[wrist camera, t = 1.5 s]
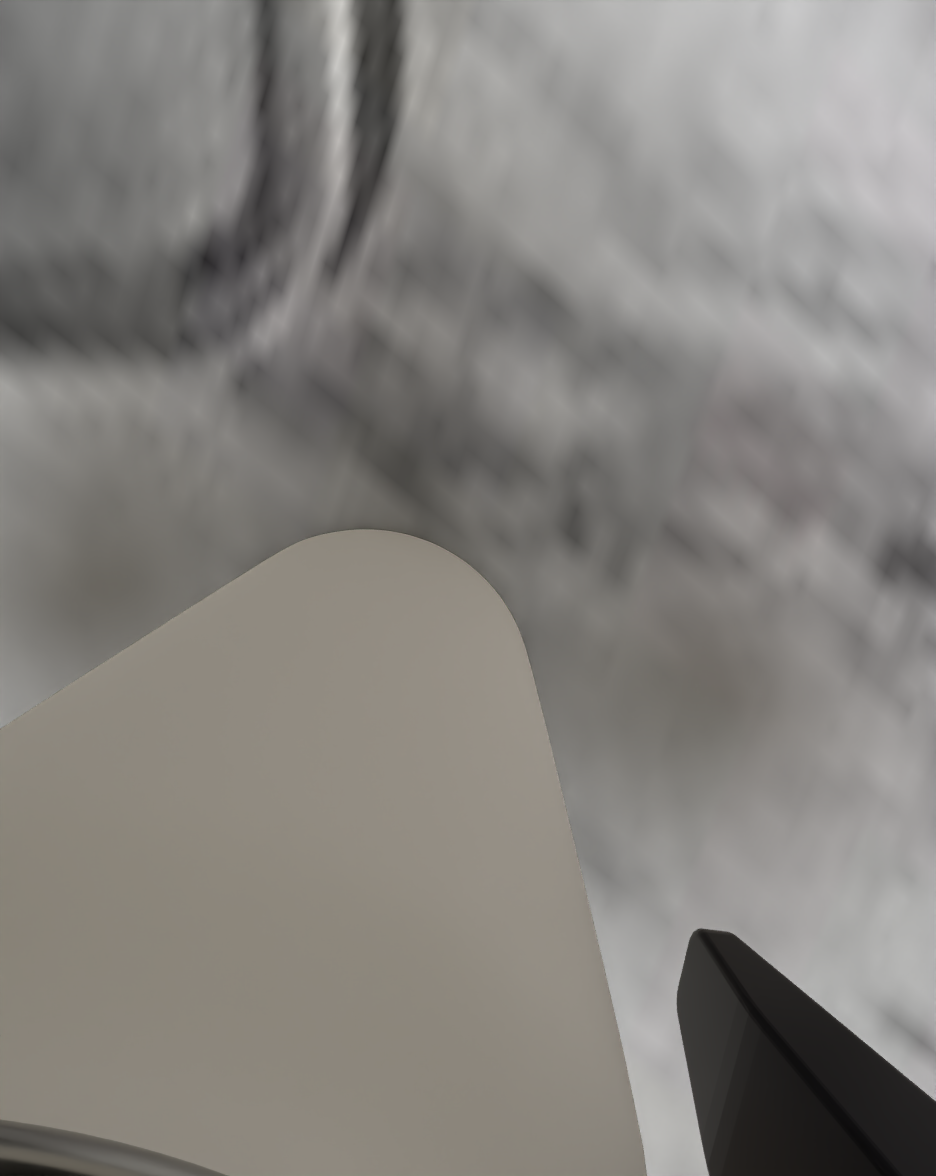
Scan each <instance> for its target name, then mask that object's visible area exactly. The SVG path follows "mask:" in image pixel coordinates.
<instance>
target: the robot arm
mask: <svg viewBox="0 0 936 1176" xmlns="http://www.w3.org/2000/svg"><path fill="white" fill-rule="evenodd" d="M677 1013H678V1019H679V1024H680V1030H681V1035H682V1040H683V1045H684V1051H685V1056H686V1061H687V1066H688V1072H689V1077H690V1082H691V1088H692V1093H693V1098H694V1103H695V1109H696V1114H697V1119H698V1125H699V1130H700V1135H701V1140H702V1145H703V1150H704V1155H705V1159H706V1164H707V1168H708V1172H709V1176H936V1101H935V1100H933V1099H932V1098H931V1097H930V1096H929V1095H927V1094H926V1093H925V1092H924V1091H923V1090H921V1089H920V1088H919V1087H918V1086H916V1085H915V1084H914V1083H913V1082H912V1081H910V1080H909V1079H908V1078H907V1077H906V1076H904V1075H903V1074H902V1073H901V1072H900V1071H898V1070H897V1069H896V1068H895V1067H894V1066H892V1065H891V1064H890V1063H889V1062H888V1061H886V1060H885V1059H884V1058H883V1057H882V1056H880V1055H879V1054H878V1053H877V1052H875V1051H874V1050H873V1049H872V1048H871V1047H869V1046H868V1045H867V1044H866V1043H865V1042H863V1041H862V1040H861V1039H860V1038H859V1037H857V1036H856V1035H855V1034H854V1033H853V1032H851V1031H850V1030H849V1029H848V1028H847V1027H845V1026H844V1025H843V1024H842V1023H840V1022H839V1021H838V1020H837V1019H836V1018H834V1017H833V1016H832V1015H831V1014H830V1013H828V1012H827V1011H826V1010H825V1009H824V1008H822V1007H821V1006H820V1005H819V1004H818V1003H816V1002H815V1001H814V1000H813V999H812V998H810V997H809V996H808V995H807V994H806V993H804V992H803V991H802V990H801V989H799V988H798V987H797V986H796V985H795V984H793V983H792V982H791V981H790V980H789V979H787V978H786V977H785V976H784V975H783V974H781V973H780V972H779V971H778V970H777V969H775V968H774V967H773V966H772V965H771V964H769V963H768V962H767V961H766V960H765V959H763V958H762V957H761V956H760V955H758V954H757V953H756V952H755V951H754V950H752V949H751V948H750V947H749V946H748V945H746V944H745V943H744V942H743V941H742V940H740V939H739V938H738V937H737V936H735V935H734V934H732V933H730V932H725V931H717V930H709V929H697V930H696V931H694V932H693V934H692V935H691V937H690V940H689V944H688V948H687V952H686V956H685V961H684V965H683V969H682V973H681V977H680V982H679V986H678V991H677Z"/></svg>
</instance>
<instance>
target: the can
mask: <svg viewBox="0 0 936 1176" xmlns="http://www.w3.org/2000/svg"><path fill="white" fill-rule="evenodd" d="M0 1176H647V1173H646V1165H645V1158H644V1151H643V1145H642V1140H641V1135H640V1130H639V1125H638V1120H637V1115H636V1110H635V1105H634V1100H633V1095H632V1091H631V1086H630V1081H629V1076H628V1071H627V1066H626V1061H625V1056H624V1052H623V1047H622V1043H621V1039H620V1034H619V1030H618V1026H617V1021H616V1017H615V1013H614V1008H613V1004H612V1000H611V995H610V991H609V987H608V982H607V978H606V974H605V969H604V965H603V961H602V956H601V952H600V948H599V944H598V940H597V935H596V931H595V927H594V923H593V919H592V914H591V910H590V906H589V902H588V898H587V893H586V889H585V885H584V881H583V877H582V872H581V868H580V864H579V860H578V856H577V852H576V847H575V843H574V839H573V835H572V831H571V827H570V823H569V819H568V814H567V810H566V806H565V802H564V798H563V794H562V790H561V786H560V781H559V777H558V773H557V769H556V765H555V761H554V757H553V753H552V749H551V745H550V741H549V737H548V733H547V729H546V725H545V720H544V716H543V712H542V708H541V704H540V701H539V697H538V693H537V689H536V685H535V681H534V677H533V673H532V669H531V666H530V662H529V658H528V655H527V651H526V648H525V645H524V642H523V639H522V636H521V634H520V631H519V629H518V627H517V624H516V622H515V620H514V618H513V616H512V615H511V613H510V611H509V609H508V608H507V606H506V605H505V603H504V601H503V600H502V599H501V597H500V596H499V595H498V593H497V592H496V591H495V589H494V588H493V587H492V586H491V585H490V584H489V583H488V582H487V581H486V579H485V578H484V577H483V576H481V575H480V574H479V573H478V572H477V571H476V570H475V569H474V568H472V567H471V566H470V565H469V564H467V563H466V562H465V561H463V560H462V559H460V558H459V557H457V556H456V555H454V554H453V553H451V552H449V551H447V550H446V549H444V548H442V547H440V546H438V545H435V544H433V543H431V542H428V541H426V540H423V539H420V538H417V537H414V536H411V535H407V534H403V533H398V532H393V531H385V530H373V529H357V530H345V531H338V532H332V533H326V534H322V535H318V536H314V537H311V538H307V539H304V540H302V541H299V542H297V543H295V544H293V545H291V546H289V547H287V548H285V549H284V550H282V551H280V552H278V553H277V554H275V555H273V556H272V557H270V558H268V559H267V560H265V561H263V562H262V563H260V564H258V565H257V566H255V567H254V568H252V569H250V570H249V571H247V572H246V573H244V574H242V575H241V576H239V577H238V578H236V579H234V580H233V581H231V582H230V583H228V584H226V585H225V586H223V587H222V588H220V589H218V590H217V591H215V592H214V593H212V594H211V595H209V596H207V597H206V598H204V599H203V600H201V601H199V602H198V603H196V604H195V605H193V606H192V607H190V608H188V609H187V610H185V611H184V612H182V613H180V614H179V615H177V616H176V617H174V618H173V619H171V620H169V621H168V622H166V623H165V624H163V625H162V626H160V627H158V628H157V629H155V630H154V631H152V632H151V633H149V634H148V635H146V636H144V637H143V638H141V639H140V640H138V641H137V642H135V643H133V644H132V645H130V646H129V647H127V648H126V649H124V650H122V651H121V652H119V653H118V654H116V655H115V656H113V657H111V658H110V659H108V660H107V661H105V662H104V663H102V664H100V665H99V666H97V667H96V668H94V669H93V670H91V671H90V672H88V673H86V674H85V675H83V676H82V677H80V678H79V679H77V680H76V681H74V682H72V683H71V684H69V685H68V686H66V687H65V688H63V689H62V690H60V691H58V692H57V693H55V694H54V695H52V696H51V697H49V698H48V699H46V700H44V701H43V702H41V703H40V704H38V705H37V706H35V707H34V708H32V709H30V710H29V711H27V712H26V713H24V714H23V715H21V716H20V717H18V718H16V719H15V720H13V721H12V722H10V723H9V724H7V725H6V726H4V727H2V728H1V729H0Z"/></svg>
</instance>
